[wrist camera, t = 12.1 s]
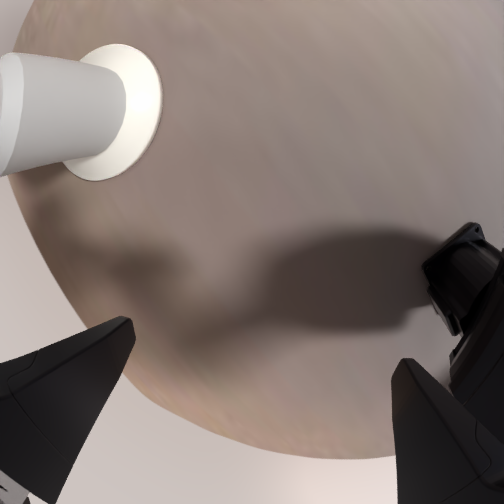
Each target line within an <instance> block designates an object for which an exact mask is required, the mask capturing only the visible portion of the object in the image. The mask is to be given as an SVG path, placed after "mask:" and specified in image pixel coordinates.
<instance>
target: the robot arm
mask: <svg viewBox="0 0 504 504" xmlns="http://www.w3.org/2000/svg"><path fill="white" fill-rule="evenodd" d="M476 227H477V229H476V231H475V228H476ZM428 266H430V267H429V269H427V270H426V268H427V267H428ZM422 271H423V273H424V275H425V277H426V279H427V281H428V283H429V285H430V286H429V287H428V289H427V292H428V294H429V296H430V298H431V300H432V302H433V304H434V306H435V309H436V310H437V312H438V314H439V315H440V317H441V318H442V320H443V322H444V323H445V325H446V326H447V328H448V330H449V331H450V333H451V335H452V336H457V335H458V334H460V336H461V337H462V338H461V340H460V342H459V343H458V345H457V346H456V348H455V349H453V351H452V352H451V354H450V355H449V357H450V366H451V367H450V377H451V382H450V383H449V389H450V391H451V393H452V395H451V394H450V393H449V392H448V391H447V390H446V389H445V388H444V387H443V386H442V385H441V384H440V383H439V382H438V381H437V380H436V379H435V378H434V377H432V376H431V375H430V374H429V373H428V372H427V371H426V370H425V369H424V368H423V367H422V366H421V365H420V364H419V363H418V362H416V361H415V360H414V359H412V358H403V359H401V360H400V362H399V364H398V366H397V368H396V370H395V371H394V373H393V375H392V379H391V390H392V422H393V432H394V442H395V453H396V467H397V491H398V504H504V248H503V249H502V252H501V251H499V250H498V249H497V248H495V247H494V246H493V245H491V244H490V243H488V242H487V241H486V240H485V237H484V234H483V231H482V228H481V226H480V225H479V224H478V223H473V224H472V225H470V226H469V227H468V228H467V229H466V230H465V231H463V232H462V233H461V234H460V235H459V236H457V237H456V238H455V239H454V240H452V241H451V242H450V243H449V244H448V245H446V246H445V247H444V248H442V249H441V250H440V251H439V252H437V253H436V254H435V255H433V256H432V257H431V258H430V259H428V260H427V261H426V262H424V263H423V265H422ZM135 340H136V336H135V332H134V327H133V322H132V320H131V319H130V318H127V317H124V316H119V317H116V318H114V319H112V320H109V321H107V322H104V323H102V324H100V325H97V326H95V327H92V328H90V329H88V330H85V331H83V332H80V333H78V334H75V335H73V336H71V337H69V338H66V339H63V340H61V341H58V342H56V343H54V344H51V345H49V346H46V347H44V348H41V349H39V351H38V350H37V351H34V352H32V353H29V354H26V355H24V356H21V357H18V358H16V359H12V360H9V361H6V362H3V363H0V504H30V501H29V498H28V497H27V496H28V494H29V492H31V493H32V494H34V495H35V496H37V497H38V498H40V499H42V500H43V501H45V502H47V503H48V504H55V503H56V502H57V499H58V497H59V495H60V493H61V490H62V488H63V486H64V484H65V482H66V480H67V477H68V475H69V473H70V471H71V469H72V467H73V464H74V463H75V461H76V459H77V456H78V454H79V452H80V450H81V448H82V446H83V444H84V443H85V440H86V439H87V437H88V435H89V433H90V431H91V429H92V427H93V425H94V423H95V421H96V420H97V418H98V416H99V414H100V412H101V410H102V408H103V407H104V405H105V403H106V401H107V399H108V397H109V396H110V394H111V392H112V390H113V389H114V387H115V385H116V383H117V381H118V380H119V378H120V376H121V373H122V371H123V369H124V367H125V364H126V362H127V360H128V357H129V355H130V353H131V351H132V348H133V346H134V344H135Z"/></svg>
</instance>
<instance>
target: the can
mask: <svg viewBox="0 0 504 504" xmlns="http://www.w3.org/2000/svg"><path fill="white" fill-rule="evenodd" d="M125 112H126V91H125V88H124V84H123V81H122V80H121V79H120V77H119V76H118V75H117V73H116V72H114V71H112V70H110V69H108V68H105V67H101V66H97V65H92V64H88V63H83V62H78V61H73V60H68V59H62V58H56V57H49V56H42V55H34V54H25V53H14V52H11V53H8V54H5V55H3V56H2V57H0V177H2V176H6V175H9V174H12V173H16V172H20V171H23V170H27V169H31V168H35V167H39V166H44V165H48V164H53V163H57V162H62V161H67V160H72V159H77V158H83V157H88V156H94V155H97V154H99V153H100V152H102V151H104V150H105V149H107V148H108V146H109V145H110V144H111V143H112V142H113V141H114V139H115V138H116V136H117V134H118V132H119V130H120V128H121V126H122V124H123V120H124V116H125Z"/></svg>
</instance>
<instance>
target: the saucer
mask: <svg viewBox="0 0 504 504" xmlns="http://www.w3.org/2000/svg"><path fill="white" fill-rule="evenodd" d="M79 62H83V63H88V64H92V65H97V66H101V67H105V68H108V69H110V70H112V71H114V72H116V73H117V75H118V76H119V77H120V79H121V80H122V81H123V84H124V88H125V91H126V112H125V116H124V120H123V124H122V126H121V128H120V130H119V132H118V134H117V136H116V138H115V139H114V141H113V142H112V143H111V144H110V145H109V146H108V148H107V149H105V150H104V151H102V152H100V153H99V154H97V155H94V156H88V157H83V158H77V159H72V160H67V161H62V162H63V163H64V164H65V166H66V167H67V168H68V169H69V170H70V171H71V172H72V173H74V174H75V175H76V176H78V177H80V178H83V179H86V180H92V181H98V180H104V179H108V178H111V177H115V176H117V175H120V174H122V173H124V172H125V171H127V170H128V169H130V168H131V167H132V166H133V165H135V164H136V163H137V162H138V161H139V160H140V158H141V157H142V156H143V155H144V153H145V152H146V151H147V149H148V148H149V146H150V144H151V143H152V141H153V139H154V136H155V134H156V132H157V129H158V126H159V123H160V119H161V115H162V108H163V86H162V81H161V77H160V74H159V72H158V69H157V68H156V66H155V64H154V63H153V61H152V60H151V59H150V58H149V57H148V56H147V55H146V54H144V53H143V52H141V51H139V50H137V49H135V48H133V47H131V46H127V45H123V44H111V45H106V46H103V47H100V48H97V49H95V50H94V51H92V52H90V53H89V54H87V55H86V56H84V57H83V58H82V59H81V60H80V61H79Z"/></svg>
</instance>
